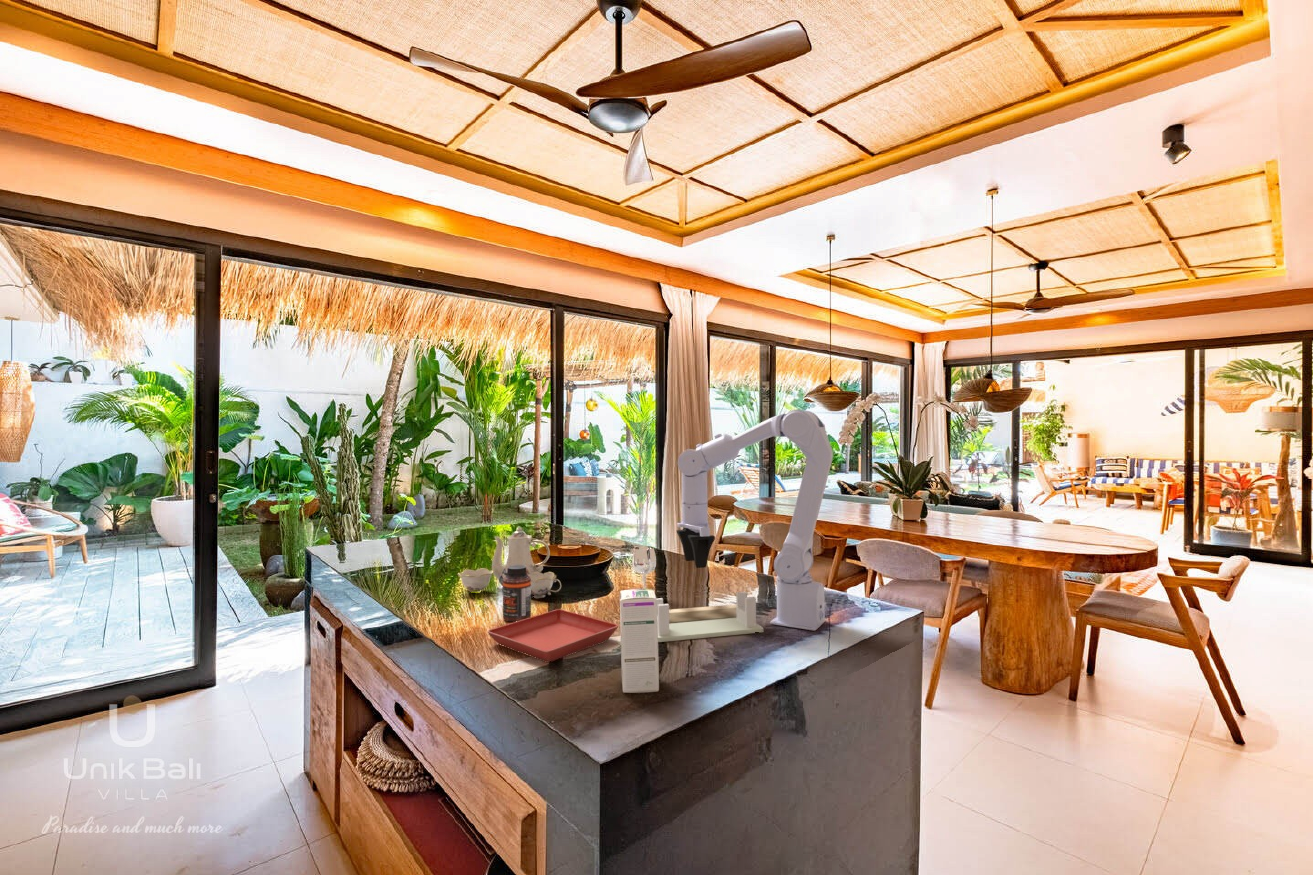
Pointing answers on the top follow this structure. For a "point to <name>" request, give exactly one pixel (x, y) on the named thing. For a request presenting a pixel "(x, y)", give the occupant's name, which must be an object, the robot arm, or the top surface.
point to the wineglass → (644, 561)
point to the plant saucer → (553, 634)
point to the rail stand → (709, 622)
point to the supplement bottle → (516, 594)
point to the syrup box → (639, 641)
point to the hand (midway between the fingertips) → (695, 563)
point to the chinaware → (516, 556)
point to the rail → (702, 613)
